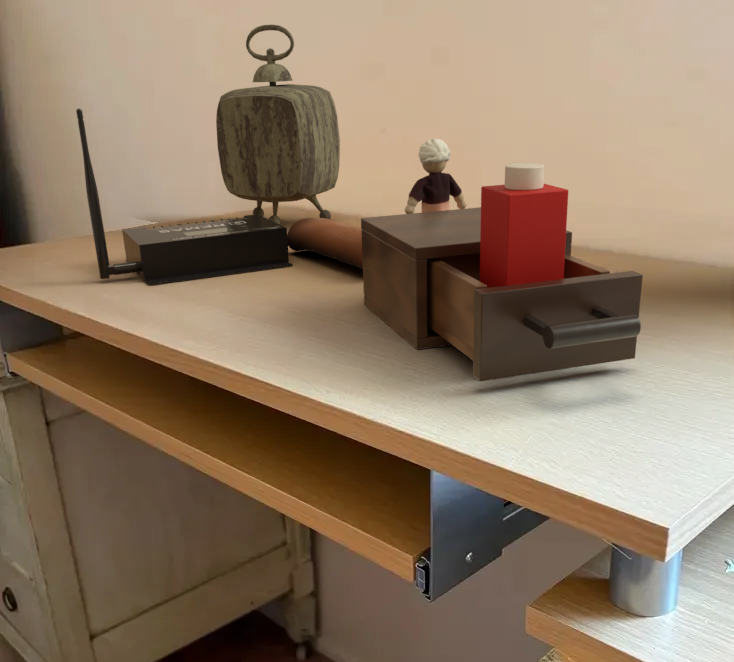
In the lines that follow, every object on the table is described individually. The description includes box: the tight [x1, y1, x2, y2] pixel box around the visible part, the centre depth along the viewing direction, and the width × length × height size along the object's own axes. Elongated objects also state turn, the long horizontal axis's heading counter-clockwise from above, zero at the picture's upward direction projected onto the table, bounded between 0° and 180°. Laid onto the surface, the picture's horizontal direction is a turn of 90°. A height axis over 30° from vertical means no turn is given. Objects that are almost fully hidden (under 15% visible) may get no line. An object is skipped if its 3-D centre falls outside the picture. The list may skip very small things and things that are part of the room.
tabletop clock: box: [215, 24, 341, 225], centre depth 109 cm, size 14×9×25 cm, turn 66°
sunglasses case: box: [287, 217, 363, 270], centre depth 91 cm, size 18×7×7 cm
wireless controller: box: [75, 108, 294, 286], centre depth 89 cm, size 20×14×17 cm
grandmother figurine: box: [404, 138, 468, 214], centre depth 89 cm, size 8×4×13 cm, turn 132°
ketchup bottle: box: [480, 162, 569, 288], centre depth 58 cm, size 4×4×12 cm
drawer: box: [427, 253, 644, 382], centre depth 58 cm, size 17×12×6 cm
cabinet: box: [360, 206, 573, 350], centre depth 69 cm, size 14×13×8 cm
